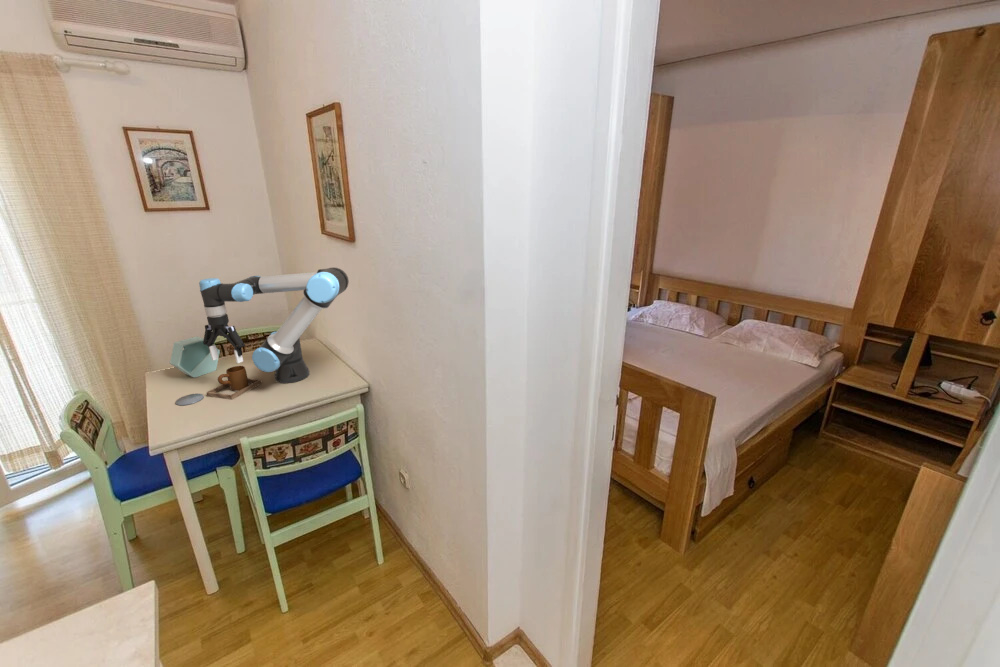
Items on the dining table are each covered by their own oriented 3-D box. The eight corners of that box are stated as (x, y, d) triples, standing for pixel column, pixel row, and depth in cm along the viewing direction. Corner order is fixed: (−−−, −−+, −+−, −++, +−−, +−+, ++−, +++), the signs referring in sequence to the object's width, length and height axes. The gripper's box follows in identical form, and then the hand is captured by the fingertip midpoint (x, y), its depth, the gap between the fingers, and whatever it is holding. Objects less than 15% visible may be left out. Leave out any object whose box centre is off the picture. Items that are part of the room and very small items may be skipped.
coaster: (209, 396, 191) (208, 394, 191) (188, 406, 182) (188, 405, 182) (191, 393, 194) (191, 392, 194) (170, 404, 185) (169, 402, 184)
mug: (226, 396, 190) (221, 377, 187) (216, 393, 194) (211, 374, 191) (252, 386, 200) (248, 367, 197) (243, 382, 204) (238, 364, 200)
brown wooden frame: (261, 383, 203) (260, 379, 202) (232, 399, 188) (231, 395, 187) (238, 380, 206) (237, 377, 206) (207, 396, 191) (206, 392, 190)
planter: (203, 384, 214) (168, 359, 199) (195, 380, 218) (159, 356, 203) (228, 357, 222) (196, 331, 207) (219, 354, 226) (187, 329, 211)
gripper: (247, 314, 186) (257, 360, 192) (201, 310, 192) (212, 355, 199) (233, 319, 179) (243, 366, 186) (186, 315, 185) (197, 361, 192)
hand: (227, 360), depth 192 cm, fingers open, 13 cm apart
